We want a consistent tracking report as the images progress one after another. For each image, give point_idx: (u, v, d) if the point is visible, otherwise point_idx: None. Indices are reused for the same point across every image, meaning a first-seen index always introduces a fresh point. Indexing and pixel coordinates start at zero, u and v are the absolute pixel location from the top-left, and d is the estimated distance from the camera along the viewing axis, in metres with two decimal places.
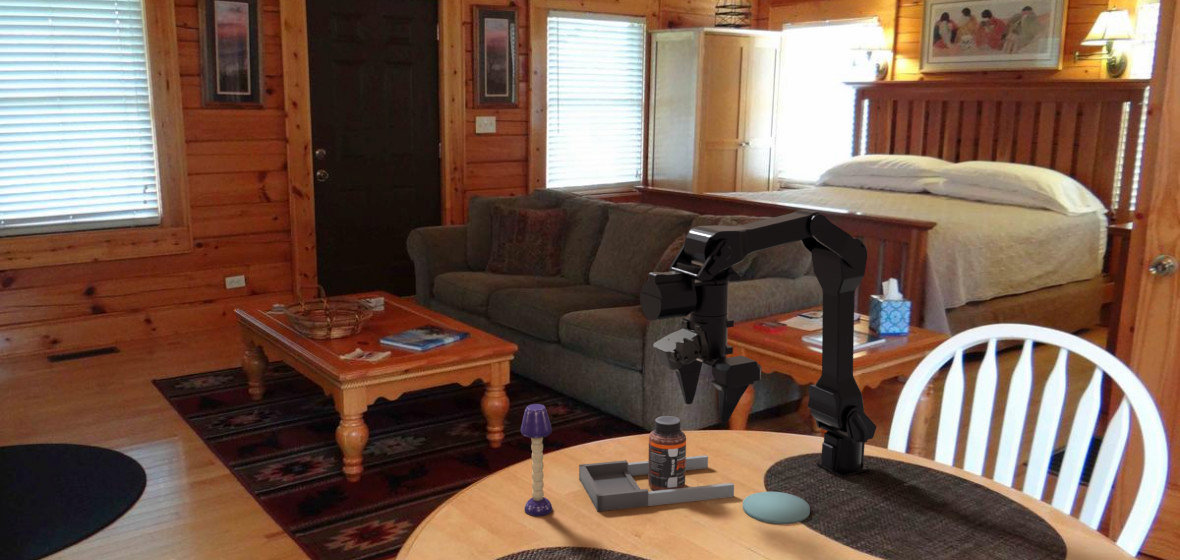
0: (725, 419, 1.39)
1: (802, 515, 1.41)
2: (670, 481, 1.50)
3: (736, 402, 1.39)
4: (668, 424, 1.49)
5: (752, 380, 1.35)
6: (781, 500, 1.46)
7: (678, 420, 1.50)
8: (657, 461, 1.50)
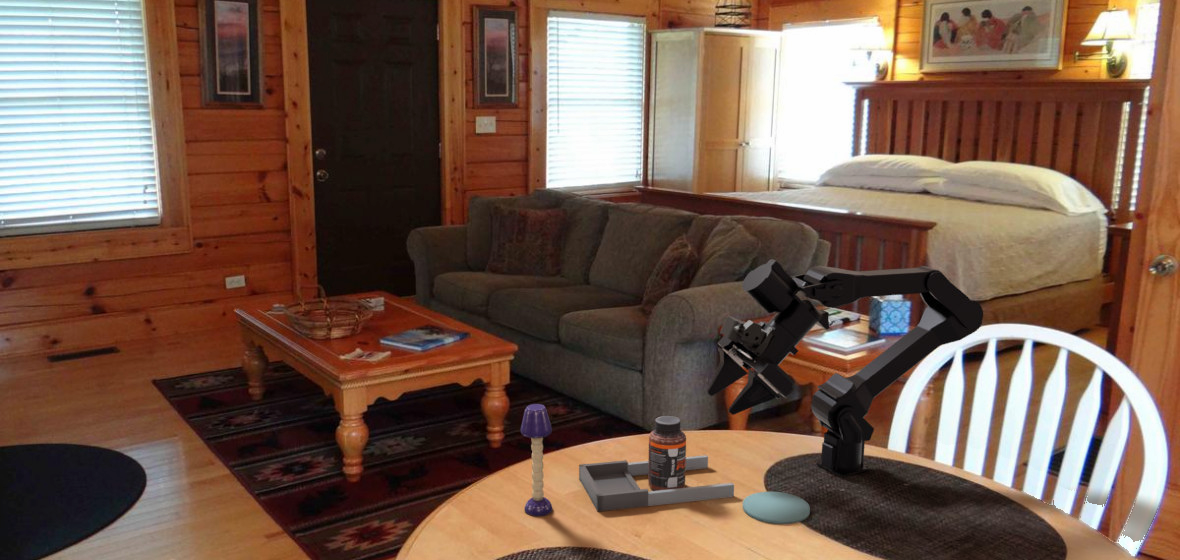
0: (733, 410, 1.47)
1: (802, 515, 1.41)
2: (670, 481, 1.50)
3: (751, 405, 1.47)
4: (668, 424, 1.49)
5: (780, 390, 1.44)
6: (781, 500, 1.46)
7: (678, 420, 1.50)
8: (657, 461, 1.50)
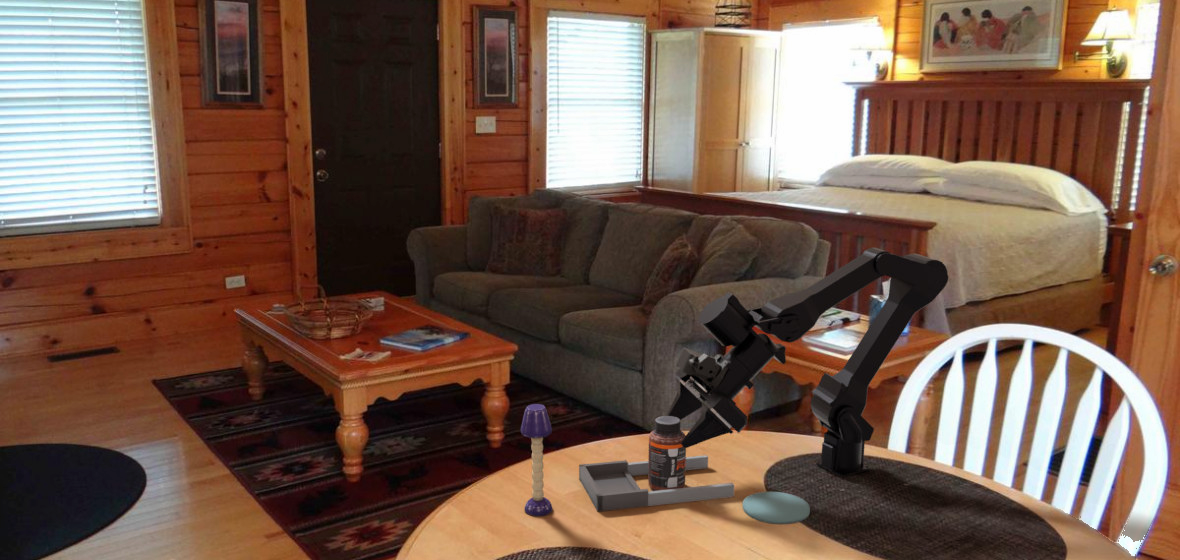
0: (685, 444, 1.47)
1: (802, 515, 1.41)
2: (670, 481, 1.50)
3: (704, 438, 1.46)
4: (668, 424, 1.49)
5: (732, 425, 1.43)
6: (781, 500, 1.46)
7: (678, 420, 1.50)
8: (657, 461, 1.50)
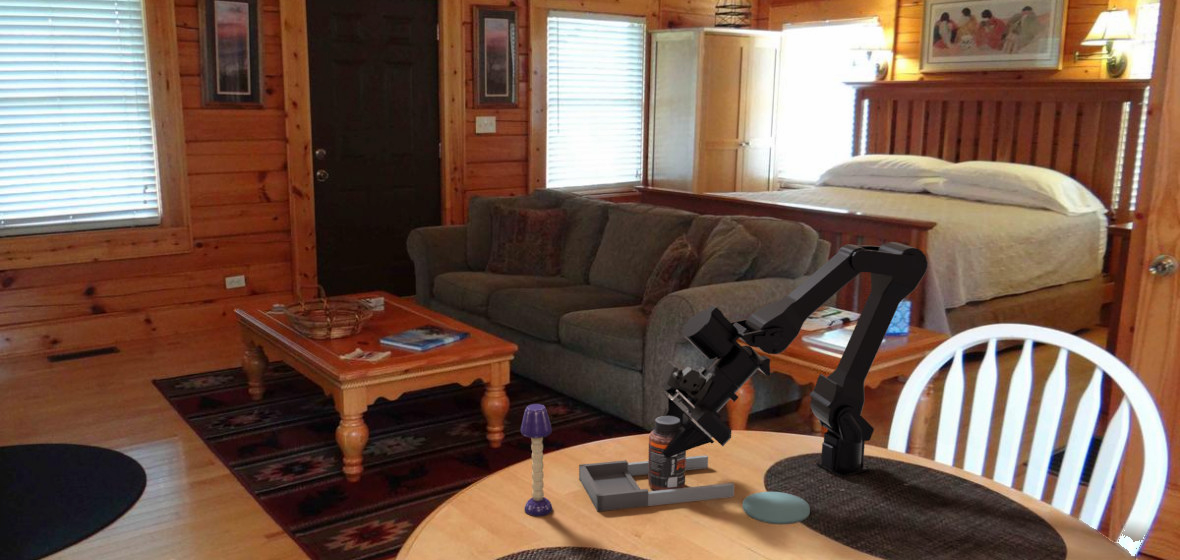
0: (667, 454, 1.48)
1: (802, 515, 1.41)
2: (670, 481, 1.50)
3: (686, 448, 1.48)
4: (668, 424, 1.49)
5: (716, 439, 1.43)
6: (781, 500, 1.46)
7: (678, 420, 1.50)
8: (657, 461, 1.50)
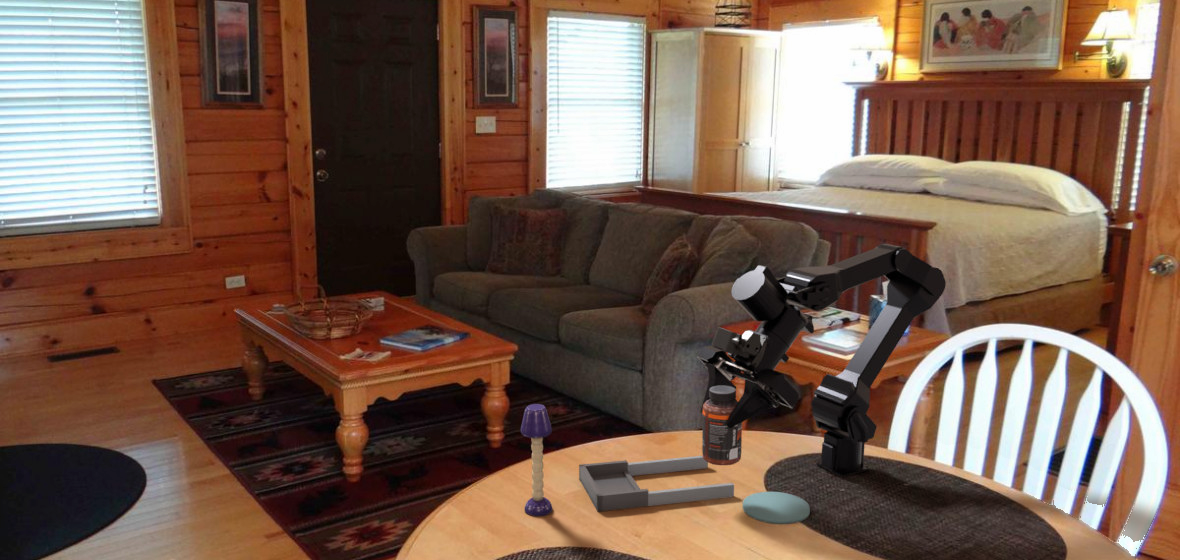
0: (730, 424, 1.41)
1: (802, 515, 1.41)
2: (732, 453, 1.43)
3: (749, 416, 1.42)
4: (727, 393, 1.42)
5: (788, 401, 1.38)
6: (781, 500, 1.46)
7: (733, 388, 1.44)
8: (717, 434, 1.42)
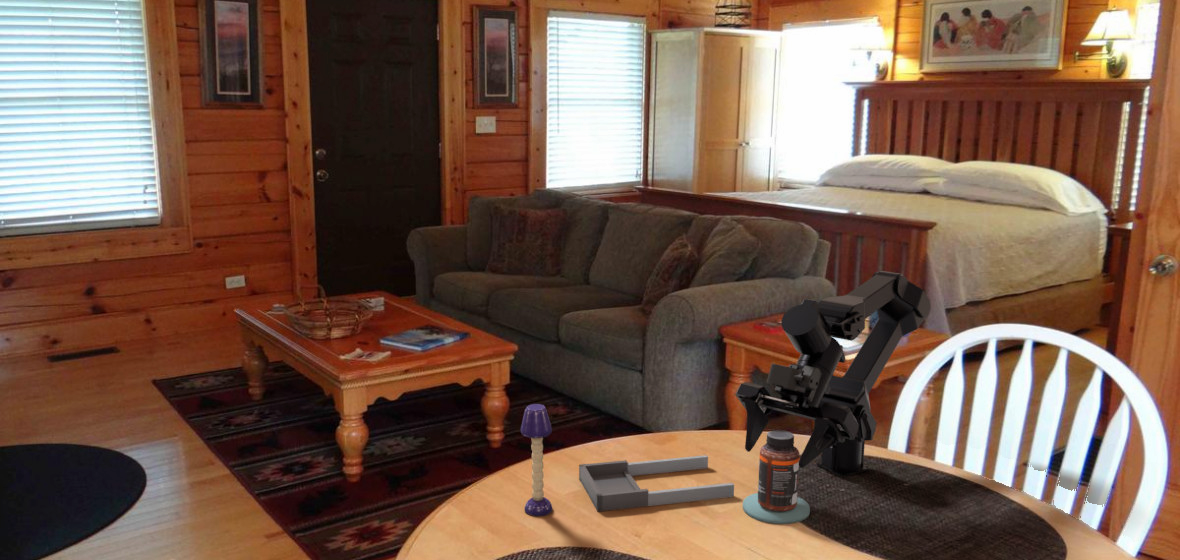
0: (803, 463, 1.39)
1: (802, 515, 1.41)
2: (794, 498, 1.42)
3: (818, 453, 1.40)
4: (789, 438, 1.41)
5: (852, 433, 1.39)
6: None
7: (789, 432, 1.43)
8: (782, 480, 1.41)
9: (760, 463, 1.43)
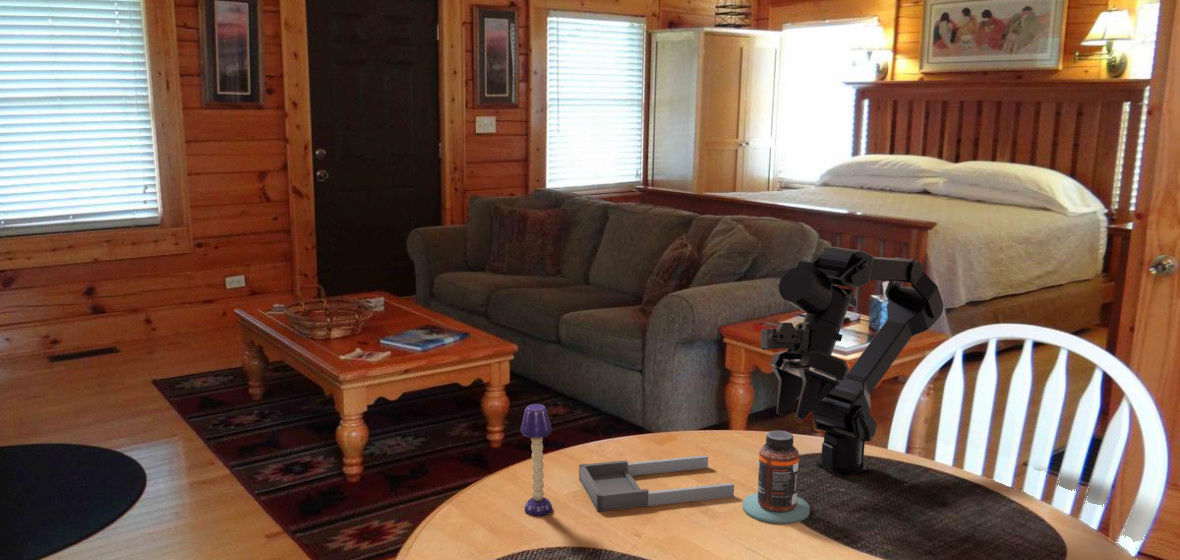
0: (801, 415, 1.43)
1: (802, 515, 1.41)
2: (794, 498, 1.42)
3: (816, 402, 1.43)
4: (789, 438, 1.41)
5: (835, 375, 1.40)
6: None
7: (788, 433, 1.43)
8: (781, 480, 1.41)
9: (760, 464, 1.43)
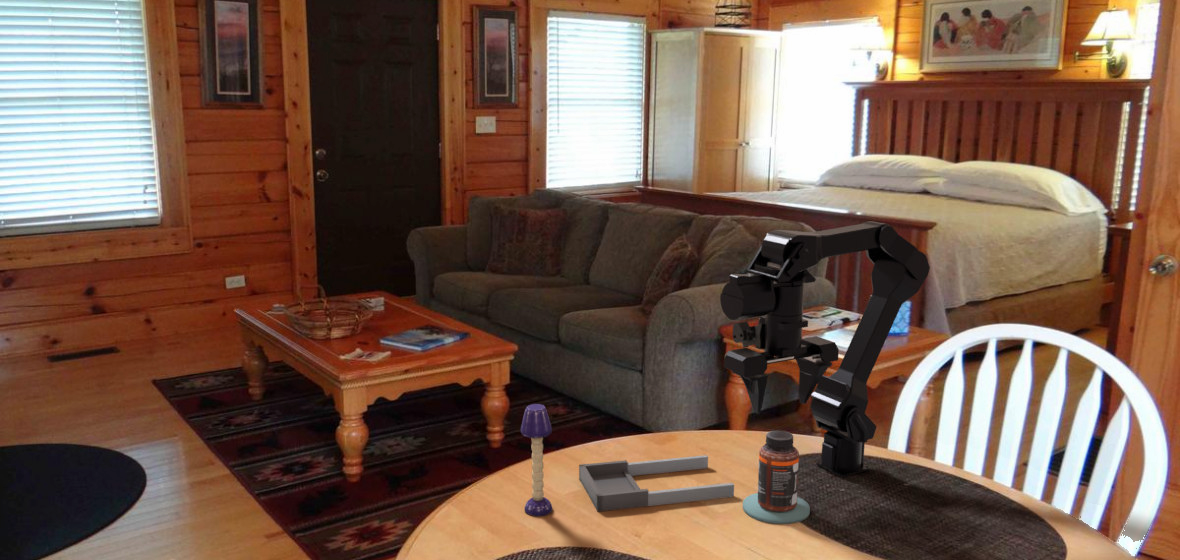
0: (755, 409, 1.48)
1: (802, 515, 1.41)
2: (794, 498, 1.42)
3: (757, 396, 1.46)
4: (789, 438, 1.41)
5: (738, 372, 1.44)
6: None
7: (788, 433, 1.43)
8: (781, 480, 1.41)
9: (760, 464, 1.43)
